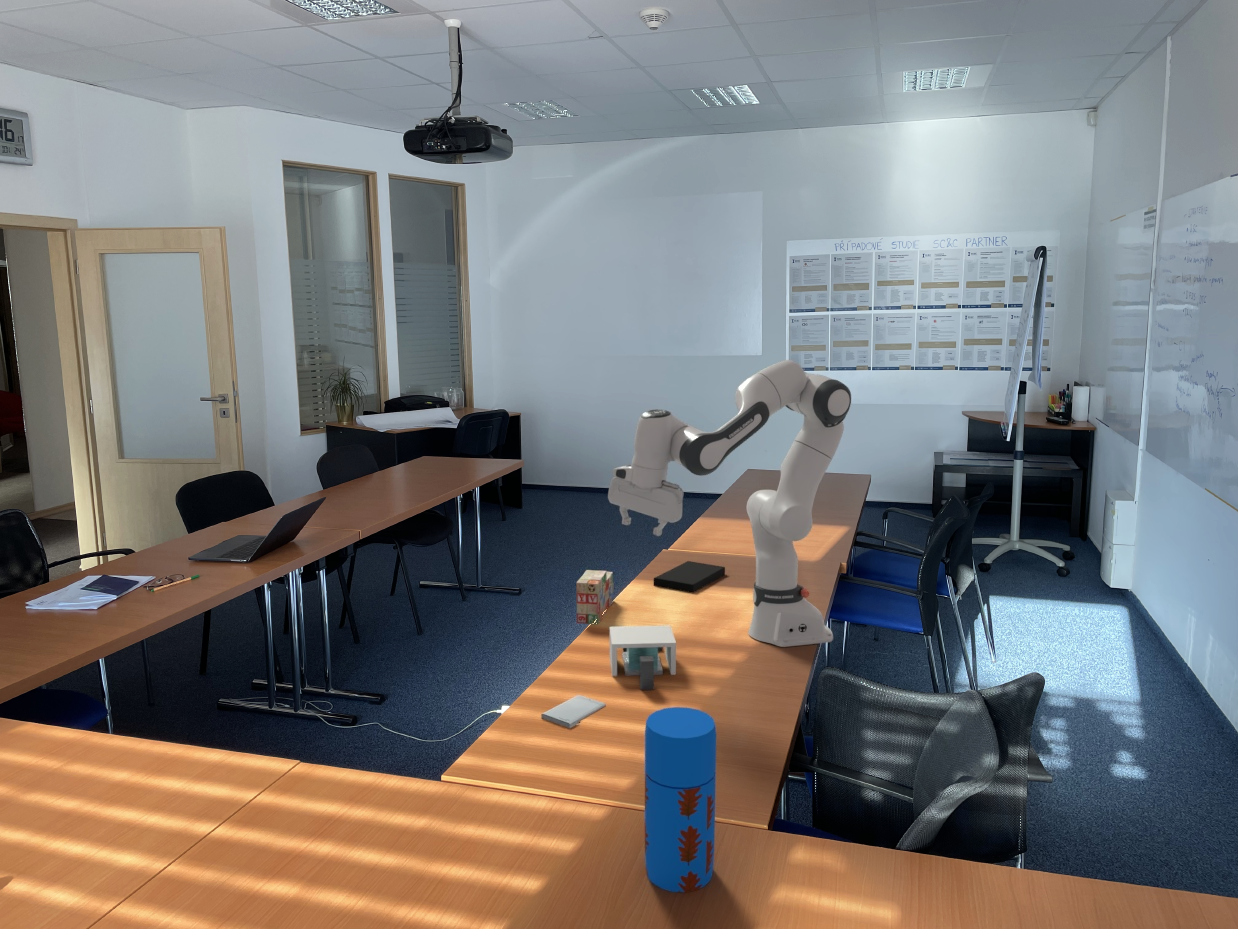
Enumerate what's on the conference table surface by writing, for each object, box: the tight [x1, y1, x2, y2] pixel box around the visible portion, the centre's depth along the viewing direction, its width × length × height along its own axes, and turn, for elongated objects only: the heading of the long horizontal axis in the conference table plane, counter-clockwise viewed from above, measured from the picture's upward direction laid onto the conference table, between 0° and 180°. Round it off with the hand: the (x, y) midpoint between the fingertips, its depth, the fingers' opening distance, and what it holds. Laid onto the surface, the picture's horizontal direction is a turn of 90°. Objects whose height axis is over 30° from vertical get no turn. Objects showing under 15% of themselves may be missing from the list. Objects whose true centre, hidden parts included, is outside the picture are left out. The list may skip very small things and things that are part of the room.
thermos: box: [644, 706, 717, 893], centre depth 137 cm, size 11×11×25 cm
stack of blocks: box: [575, 569, 614, 625], centre depth 258 cm, size 21×6×12 cm, turn 168°
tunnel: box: [609, 624, 677, 677], centre depth 218 cm, size 15×12×8 cm
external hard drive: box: [653, 560, 726, 593], centre depth 290 cm, size 14×23×3 cm, turn 148°
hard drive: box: [540, 694, 607, 729], centre depth 194 cm, size 2×8×12 cm
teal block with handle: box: [621, 647, 664, 691], centre depth 214 cm, size 9×20×7 cm, turn 3°
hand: (641, 529), depth 218 cm, fingers open, 8 cm apart
